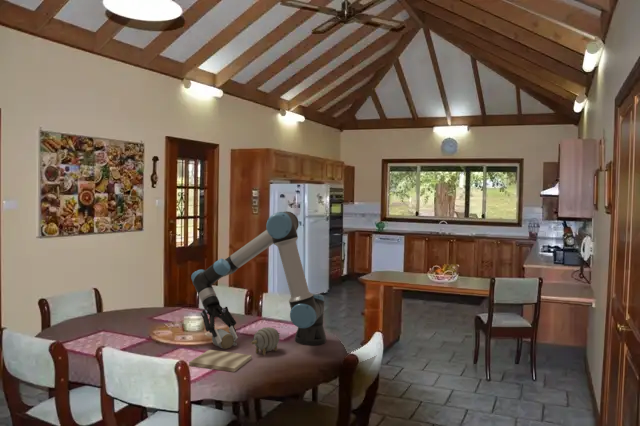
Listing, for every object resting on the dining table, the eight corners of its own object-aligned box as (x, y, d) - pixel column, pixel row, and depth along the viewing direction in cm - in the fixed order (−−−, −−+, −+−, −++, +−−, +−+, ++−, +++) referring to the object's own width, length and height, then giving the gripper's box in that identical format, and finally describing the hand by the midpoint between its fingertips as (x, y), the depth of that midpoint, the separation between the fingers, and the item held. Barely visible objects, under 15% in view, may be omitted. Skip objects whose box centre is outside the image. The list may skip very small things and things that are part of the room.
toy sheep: (286, 350, 246) (287, 326, 246) (262, 359, 232) (263, 333, 231) (267, 345, 252) (268, 322, 251) (243, 354, 238) (244, 329, 237)
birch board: (251, 358, 232) (251, 355, 232) (234, 372, 215) (234, 368, 215) (209, 353, 237) (209, 349, 237) (189, 365, 220) (189, 361, 220)
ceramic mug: (221, 351, 241) (222, 333, 240) (211, 346, 246) (211, 329, 246) (240, 347, 248) (241, 330, 248) (230, 343, 254) (231, 326, 254)
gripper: (224, 301, 264) (242, 341, 253) (186, 306, 249) (204, 349, 239) (230, 292, 260) (250, 332, 249) (193, 297, 245) (212, 340, 235)
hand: (228, 341), depth 244 cm, fingers closed on ceramic mug, 8 cm apart
